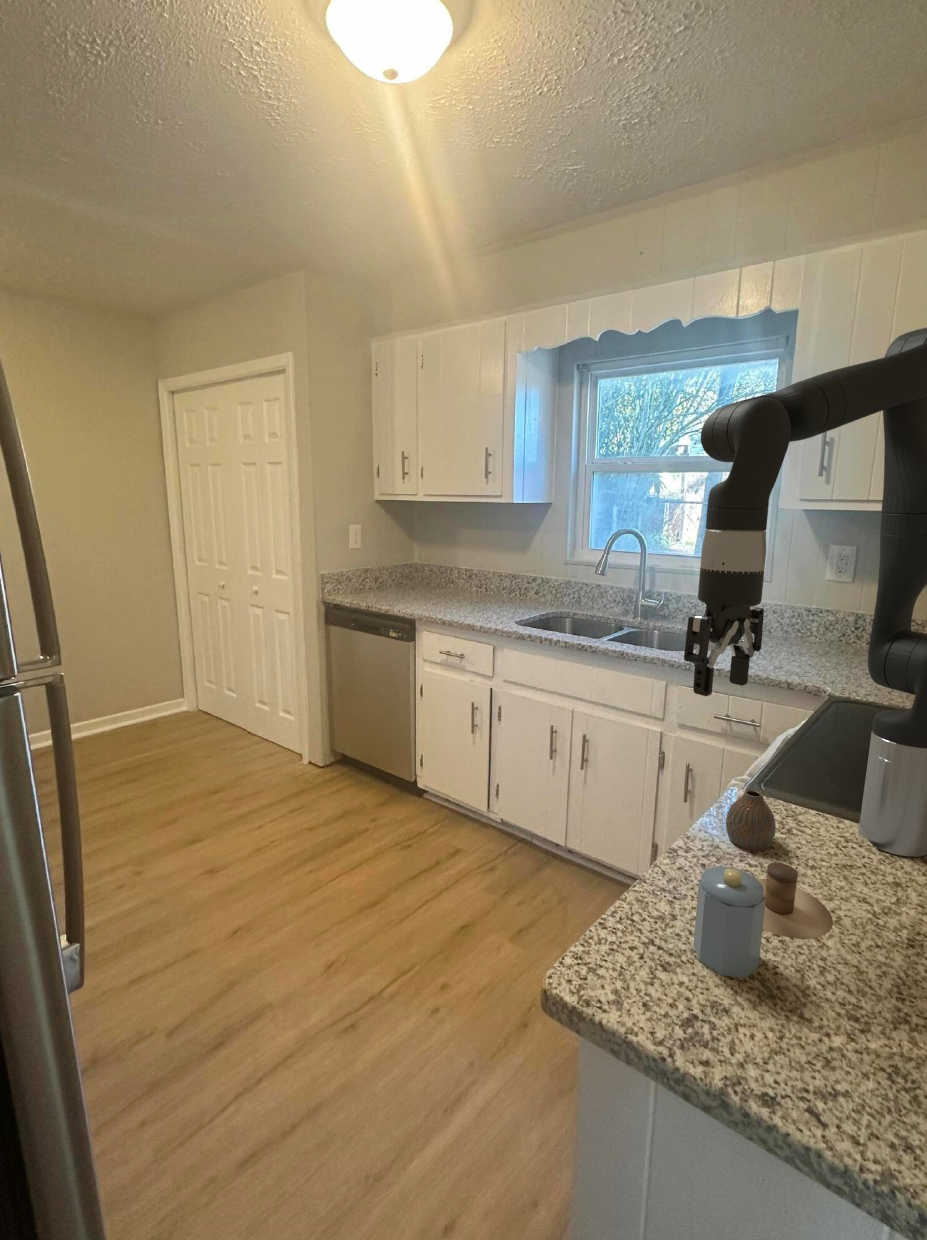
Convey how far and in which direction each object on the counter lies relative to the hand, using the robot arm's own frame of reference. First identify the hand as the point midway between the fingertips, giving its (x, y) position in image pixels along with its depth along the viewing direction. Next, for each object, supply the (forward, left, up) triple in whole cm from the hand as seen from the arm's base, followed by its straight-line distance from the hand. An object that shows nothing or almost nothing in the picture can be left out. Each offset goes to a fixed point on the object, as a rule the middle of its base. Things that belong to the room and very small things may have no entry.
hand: (720, 689), depth 82 cm
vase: (-9, -10, -28) cm, 31 cm away
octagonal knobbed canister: (+2, +16, -28) cm, 32 cm away
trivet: (-8, +6, -28) cm, 29 cm away
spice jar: (-8, +6, -27) cm, 29 cm away
